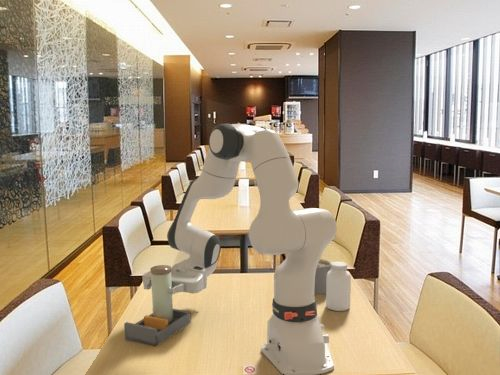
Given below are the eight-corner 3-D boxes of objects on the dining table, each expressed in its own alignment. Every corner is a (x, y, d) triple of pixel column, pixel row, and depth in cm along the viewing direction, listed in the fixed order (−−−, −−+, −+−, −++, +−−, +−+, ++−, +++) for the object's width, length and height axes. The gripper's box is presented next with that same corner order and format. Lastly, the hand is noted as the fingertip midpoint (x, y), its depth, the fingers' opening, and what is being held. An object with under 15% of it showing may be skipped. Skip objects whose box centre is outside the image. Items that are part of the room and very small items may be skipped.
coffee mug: (303, 294, 184) (303, 267, 183) (303, 284, 194) (303, 258, 192) (341, 294, 183) (342, 267, 182) (339, 284, 193) (339, 259, 191)
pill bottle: (355, 307, 171) (356, 264, 169) (337, 313, 167) (338, 269, 164) (338, 300, 178) (338, 258, 175) (321, 306, 173) (321, 263, 171)
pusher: (146, 325, 158) (146, 315, 157) (168, 329, 154) (167, 319, 154) (144, 326, 157) (143, 316, 156) (166, 331, 153) (165, 321, 153)
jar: (174, 327, 156) (171, 270, 153) (153, 329, 155) (150, 272, 152) (173, 319, 162) (170, 264, 159) (153, 321, 161) (150, 265, 158)
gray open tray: (161, 316, 167) (161, 301, 166) (190, 322, 162) (189, 307, 161) (125, 339, 151) (124, 323, 150) (155, 346, 146) (154, 330, 146)
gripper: (157, 262, 172) (130, 274, 159) (210, 269, 163) (185, 283, 150) (158, 280, 173) (131, 294, 160) (210, 288, 164) (186, 304, 151)
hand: (158, 289), depth 155 cm, fingers open, 8 cm apart
